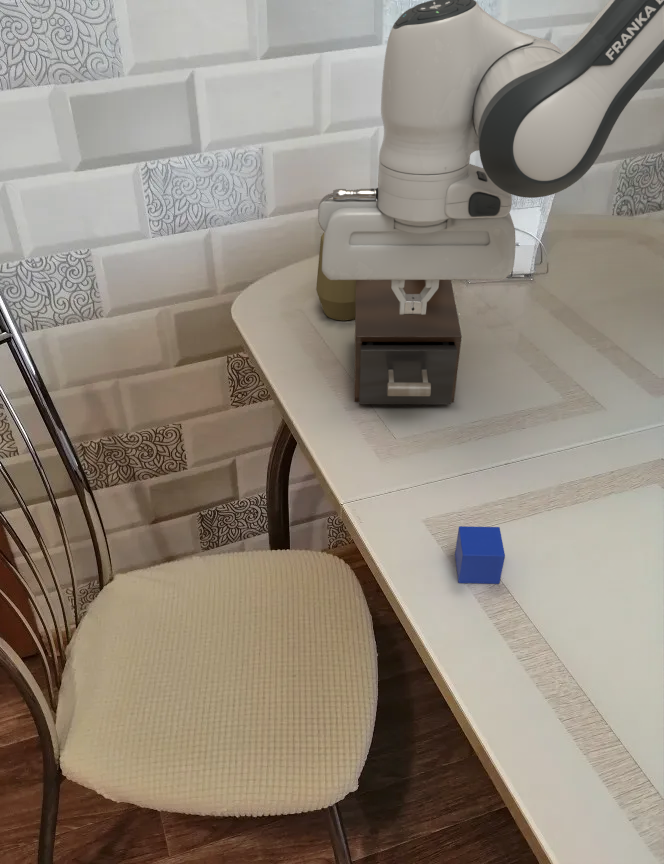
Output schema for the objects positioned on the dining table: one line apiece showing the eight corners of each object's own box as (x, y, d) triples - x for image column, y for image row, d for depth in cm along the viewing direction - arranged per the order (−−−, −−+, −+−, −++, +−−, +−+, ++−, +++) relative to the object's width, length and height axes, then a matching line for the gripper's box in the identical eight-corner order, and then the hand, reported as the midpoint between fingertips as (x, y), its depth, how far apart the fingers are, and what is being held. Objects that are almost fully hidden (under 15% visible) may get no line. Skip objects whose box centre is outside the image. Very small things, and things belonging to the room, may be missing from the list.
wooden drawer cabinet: (453, 402, 101) (461, 336, 95) (354, 402, 102) (355, 336, 95) (444, 342, 112) (451, 279, 105) (354, 342, 113) (355, 279, 106)
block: (494, 554, 81) (499, 526, 78) (499, 584, 78) (505, 556, 75) (454, 554, 81) (458, 525, 79) (458, 583, 78) (462, 555, 76)
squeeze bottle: (305, 311, 120) (302, 192, 108) (344, 293, 123) (345, 176, 111) (341, 331, 115) (342, 209, 103) (381, 312, 119) (386, 191, 107)
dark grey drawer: (454, 426, 96) (461, 371, 91) (359, 426, 97) (360, 371, 91) (442, 347, 109) (447, 295, 104) (359, 347, 110) (360, 295, 105)
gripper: (316, 201, 78) (318, 326, 87) (528, 199, 77) (507, 326, 86) (319, 177, 83) (320, 298, 92) (518, 175, 81) (499, 298, 91)
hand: (412, 312), depth 89 cm, fingers closed
